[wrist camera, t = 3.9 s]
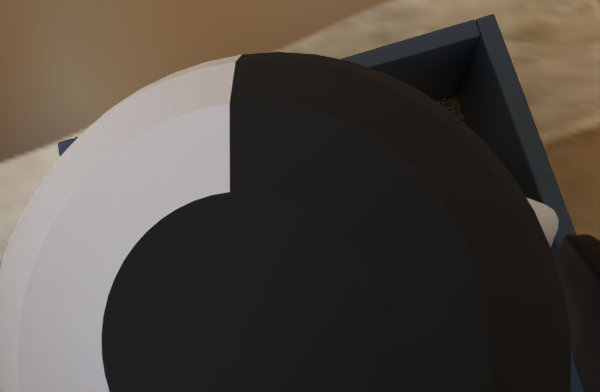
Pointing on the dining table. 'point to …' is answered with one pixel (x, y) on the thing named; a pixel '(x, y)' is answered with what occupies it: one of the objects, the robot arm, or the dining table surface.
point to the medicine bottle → (282, 245)
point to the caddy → (476, 104)
